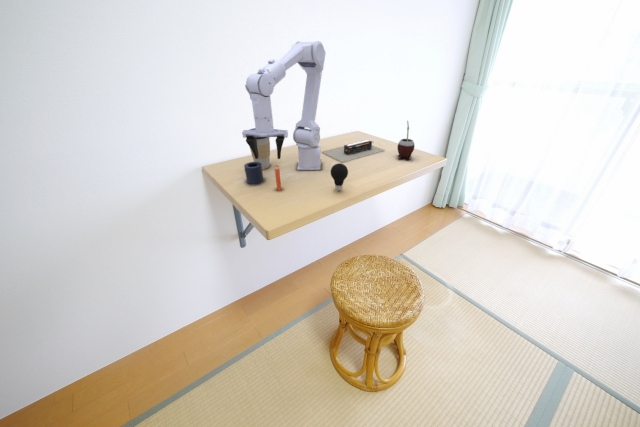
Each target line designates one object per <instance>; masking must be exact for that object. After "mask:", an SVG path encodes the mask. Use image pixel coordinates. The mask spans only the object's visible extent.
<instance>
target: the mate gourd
mask: <svg viewBox="0 0 640 427" xmlns="http://www.w3.org/2000/svg"><path fill="white" fill-rule="evenodd" d="M406 125H407V127H406V131H407V133H406V138H401V139H400V140H399V142H398V143H397V146H396V148H397V153H398V156H397V157H398V160H399V161H401V160H404V159H405V160H407V161H411V156H412V155H413V152H414V150H415V141H414V140H413V139H411V138H409V132H410V124H409V120H407V121H406Z"/></svg>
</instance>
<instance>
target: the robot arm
mask: <svg viewBox="0 0 640 427" xmlns="http://www.w3.org/2000/svg"><path fill="white" fill-rule="evenodd" d="M325 58H326V50H325V46H324V45H323V43H322V41H319V40H316V41H298V40H297V41H296V42H295V43H293V44H291V48H290V49H289V50H288V51H287V52H286V53H285V54H284V55H283V56H282V57H281V58H280V59H271V58H270V59H269V60H268V61H267V64H266V65H265V66H263V67H259V69H258V70H257V72H256V73H251V74H249V75H248V76H247V78H246V82H245V85H244V87H245V91H246V92H247V93H248V96H249V99H250V100H251V106H252V114H253V118H254V119H253V120H254V126H255V128H256V129H254V128H253V129H254V130H250V129H243V130H242V131H241V134H242V138H243V139H245V142H246V144H247V145H248V146H249V149H250V148H251V150H252V151H253V154H254V156H255V159H258V157H259V154H258V149H257V137H269V138H275V146H276V156H277V159H278V160H280V159H281V156H282V149H283V144H284V141H285V139H286V138H288V136H289V133H288V129H278V128H274V120H273V119H274V118H273V110H272V99H271V95H272V94H273V93H274V89H275V87H276V86H277V85H278V84H279V83H280V82H281V81H282V80H283V79H284V78H285V77H286V74H287V71H288V70H289V69H290V68H292V67H293V66H294V65H296V64H298V66H299V67H300V68H301V69H302V70H303V71H304V72H305V74H306V78H305V79H306V80H305V87H304V96H303V103H302V111H301V119H300V120H298V121H297V122H296V123H295V127H294V128H295V129H294V130H293V133H292V140H293V141H294V143H295V145H296V146H297V156H298V163H297V168H296V169H297V170H298V171H320V170H321V168H322V167H321V164H322V158H321V156H322V155H321V145H319V143H320V141H321V134H320V130H321V127H320V126H319V124H318V123H317V122H316V116H317V110H318V105H319V104H318V103H319V96H320V90H321V83H322V76H323V71H324V68H325V67H324V65H325V60H326V59H325ZM251 150H250V151H251Z"/></svg>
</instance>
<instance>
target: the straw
mask: <svg viewBox="0 0 640 427" xmlns="http://www.w3.org/2000/svg"><path fill="white" fill-rule="evenodd" d="M274 174H275V183H276V184H275V185H276V191H281V190H282V182H281V173H280V165H279V164H275V165H274Z"/></svg>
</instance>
